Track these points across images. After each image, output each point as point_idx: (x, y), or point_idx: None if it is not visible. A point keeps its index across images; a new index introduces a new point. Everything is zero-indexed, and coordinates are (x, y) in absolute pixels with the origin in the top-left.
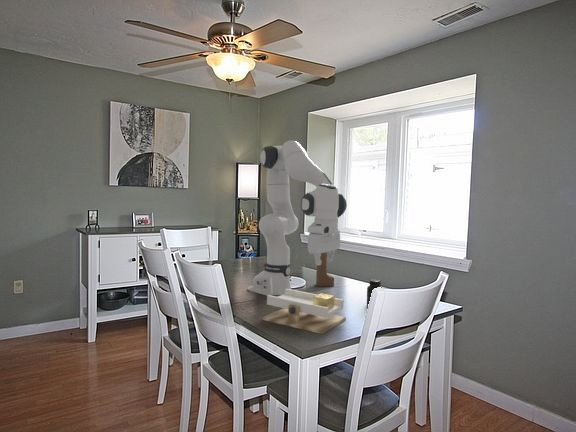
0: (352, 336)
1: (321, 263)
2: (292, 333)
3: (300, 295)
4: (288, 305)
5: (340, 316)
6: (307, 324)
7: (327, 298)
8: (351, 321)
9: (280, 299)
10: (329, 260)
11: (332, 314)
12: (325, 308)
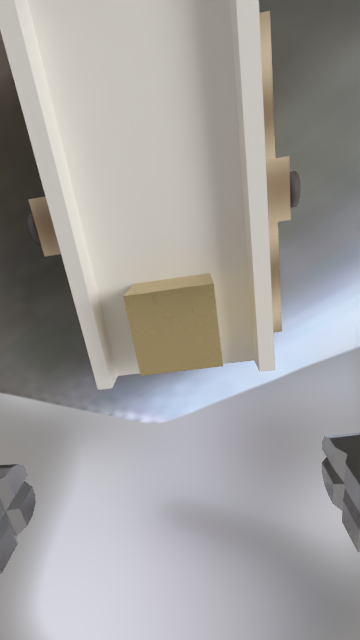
0: (151, 417)
1: (26, 525)
2: (25, 278)
3: (238, 101)
4: (29, 201)
5: (275, 313)
6: None
7: (152, 367)
8: (274, 351)
9: (25, 111)
10: (335, 478)
11: None
12: (97, 382)
